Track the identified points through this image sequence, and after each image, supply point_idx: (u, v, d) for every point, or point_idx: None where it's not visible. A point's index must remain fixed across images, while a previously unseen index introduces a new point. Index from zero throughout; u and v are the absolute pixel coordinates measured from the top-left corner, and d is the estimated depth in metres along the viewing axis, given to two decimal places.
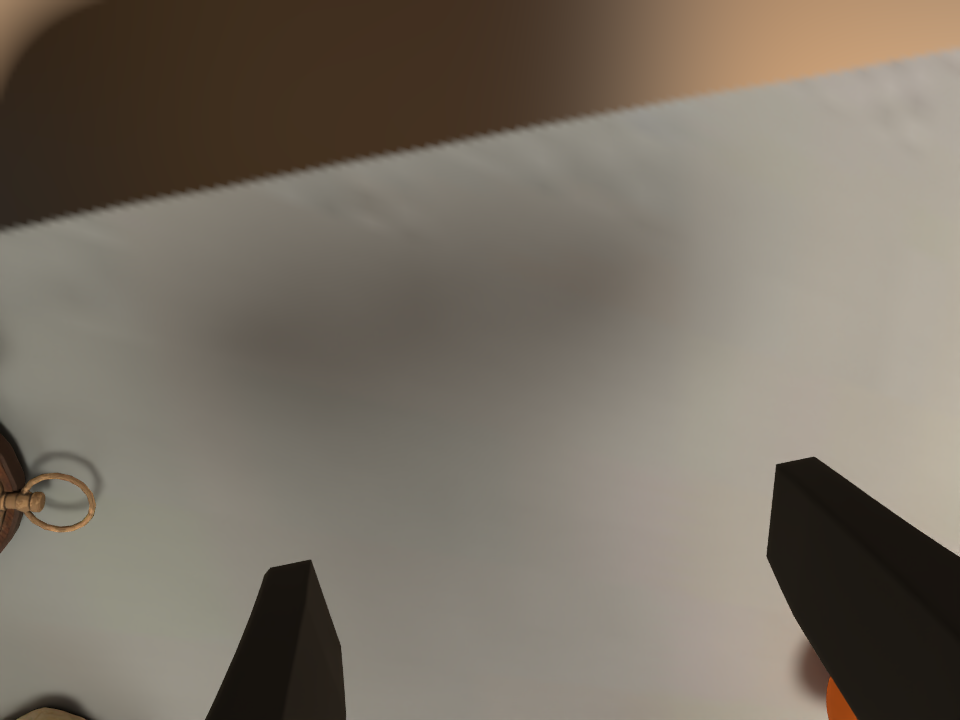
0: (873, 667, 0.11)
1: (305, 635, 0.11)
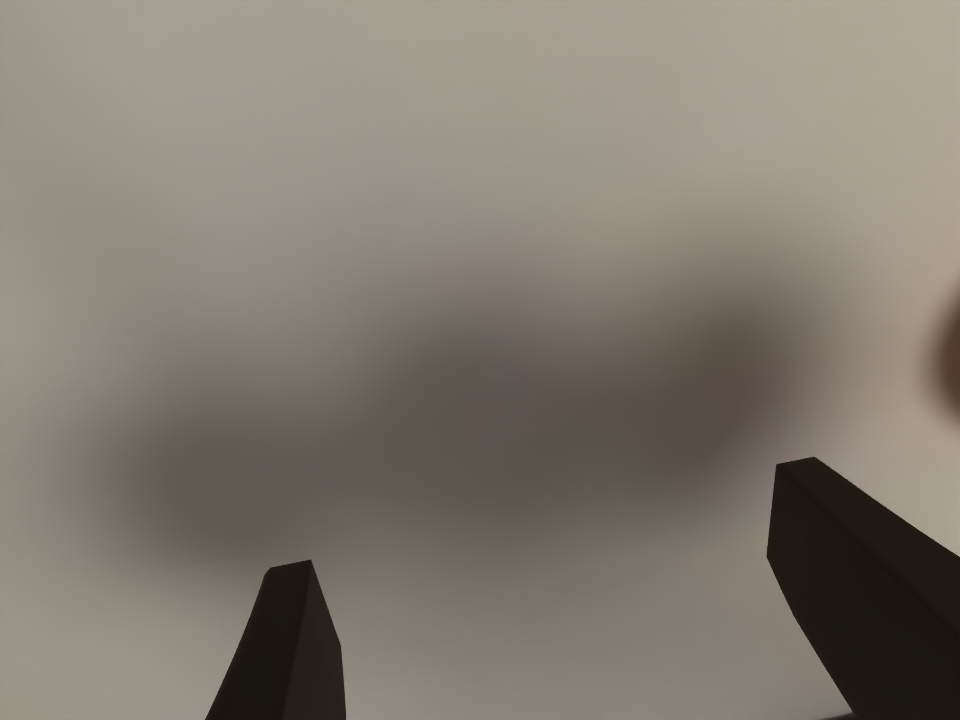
0: (873, 667, 0.11)
1: (305, 635, 0.11)
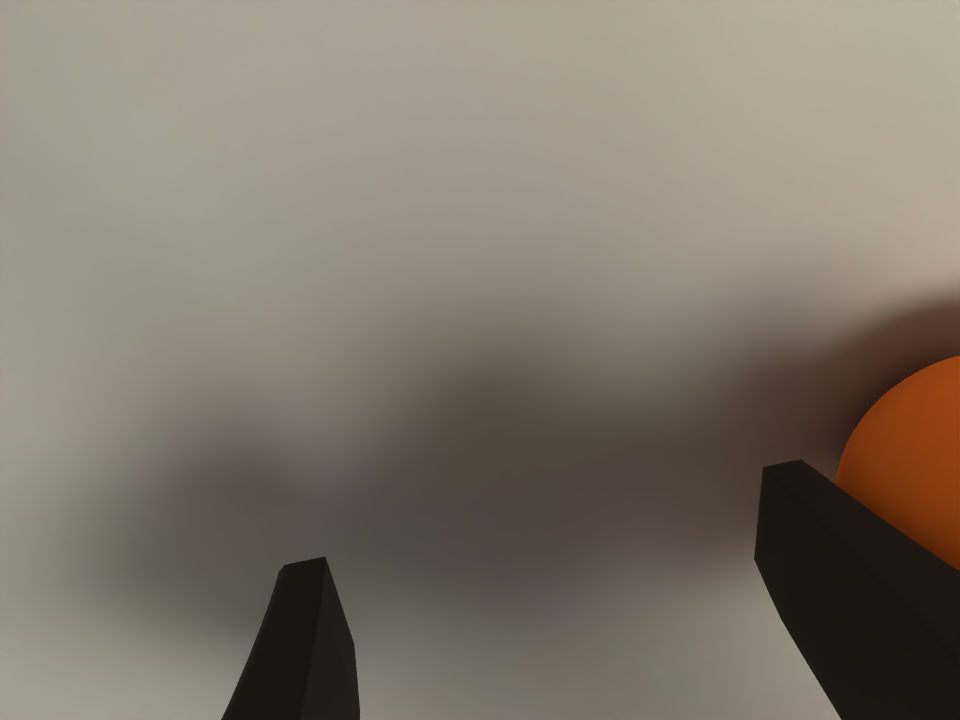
0: (858, 671, 0.11)
1: (321, 632, 0.11)
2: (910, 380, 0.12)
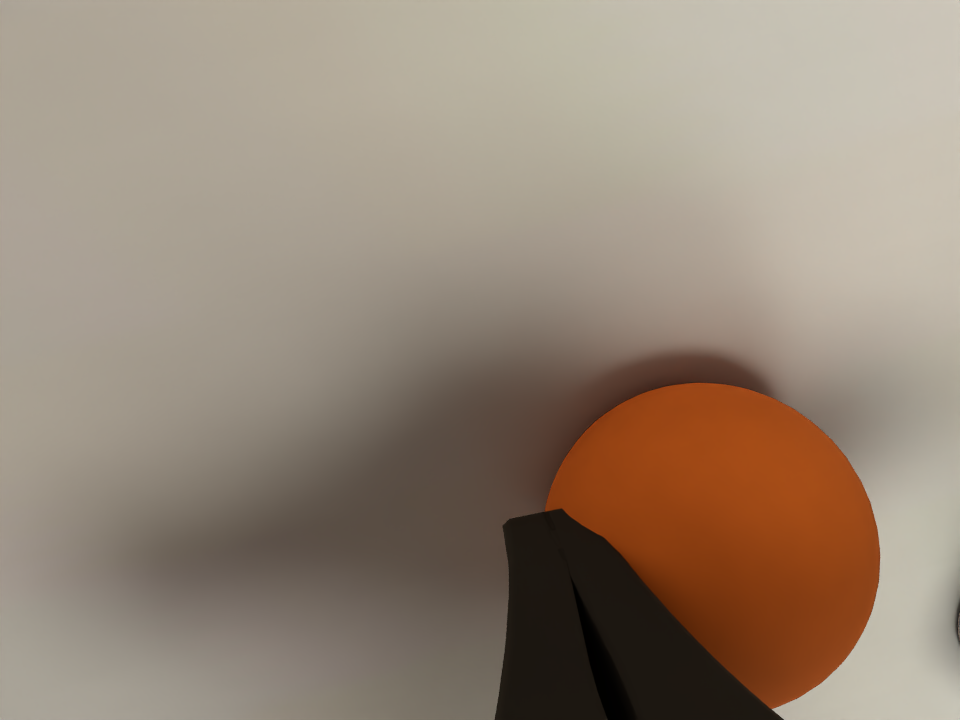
0: None
1: None
2: (589, 439, 0.12)
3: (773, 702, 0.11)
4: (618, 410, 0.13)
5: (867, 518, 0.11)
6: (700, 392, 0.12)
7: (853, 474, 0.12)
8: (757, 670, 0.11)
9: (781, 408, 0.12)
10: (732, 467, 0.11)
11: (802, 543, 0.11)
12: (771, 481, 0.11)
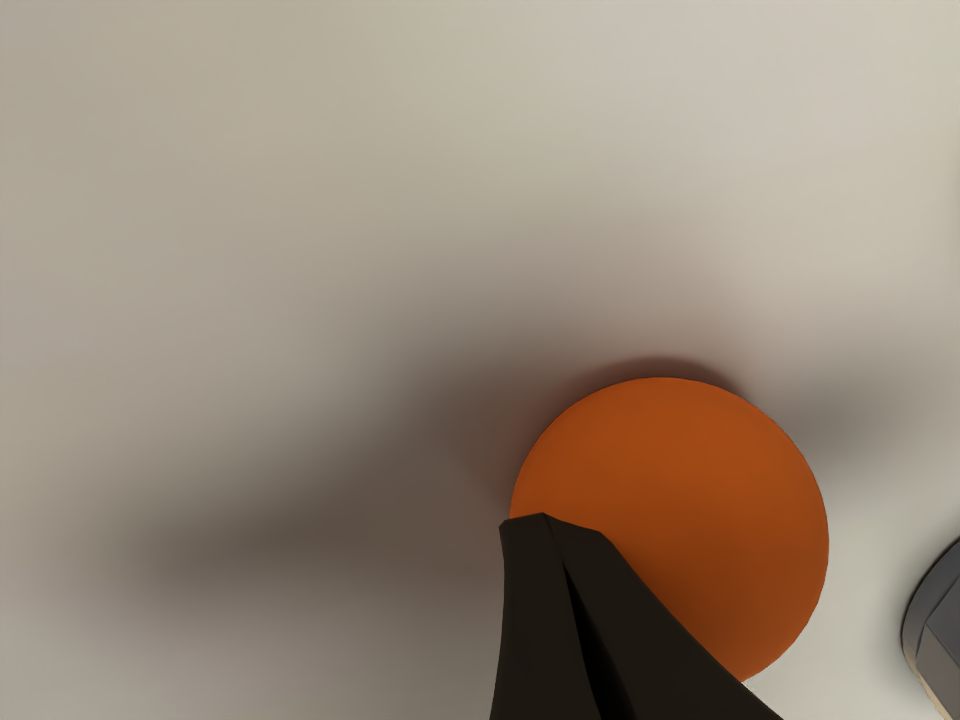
0: None
1: None
2: (556, 446, 0.13)
3: (769, 662, 0.12)
4: (575, 414, 0.13)
5: (813, 476, 0.13)
6: (650, 385, 0.13)
7: None
8: (764, 631, 0.11)
9: (721, 390, 0.13)
10: (711, 445, 0.12)
11: (784, 504, 0.11)
12: (746, 453, 0.12)
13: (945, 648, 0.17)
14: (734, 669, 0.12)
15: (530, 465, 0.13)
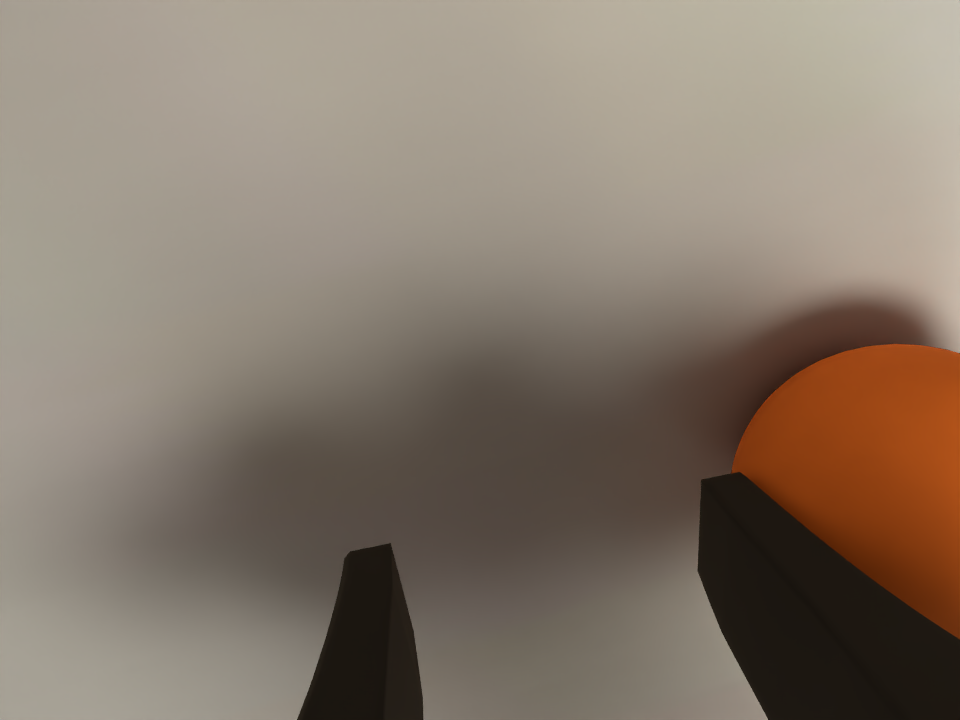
0: (788, 686, 0.11)
1: (394, 617, 0.11)
2: (785, 400, 0.13)
3: None
4: (813, 372, 0.13)
5: None
6: (902, 353, 0.12)
7: None
8: None
9: None
10: (950, 428, 0.11)
11: None
12: None
13: None
14: None
15: (758, 415, 0.13)
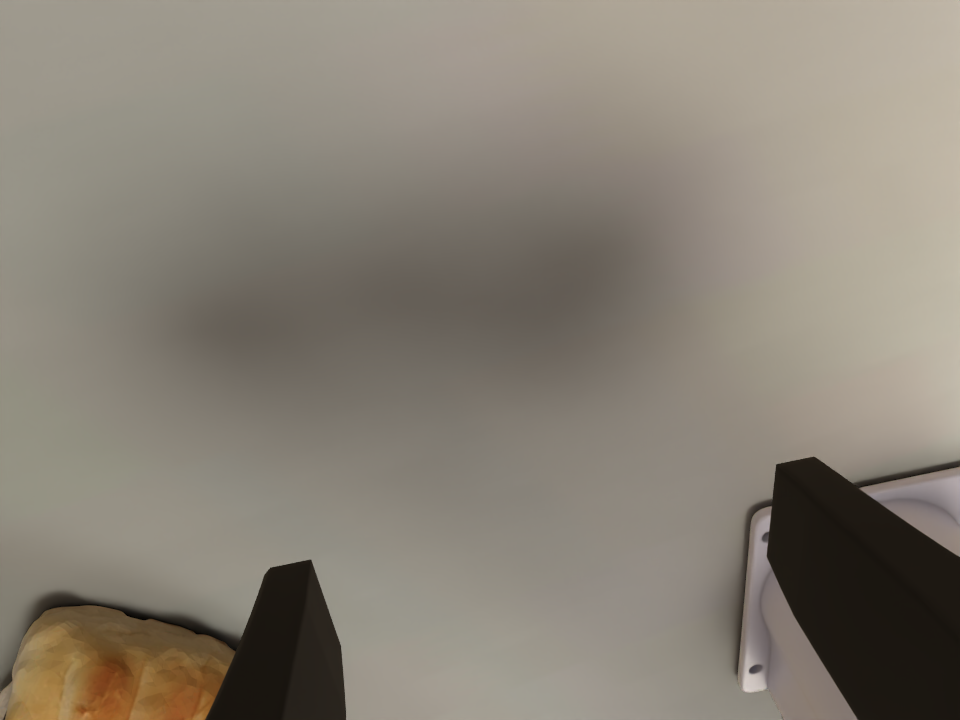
0: (873, 667, 0.11)
1: (305, 635, 0.11)
2: None
3: None
4: None
5: None
6: None
7: None
8: None
9: None
10: None
11: None
12: None
13: None
14: None
15: None
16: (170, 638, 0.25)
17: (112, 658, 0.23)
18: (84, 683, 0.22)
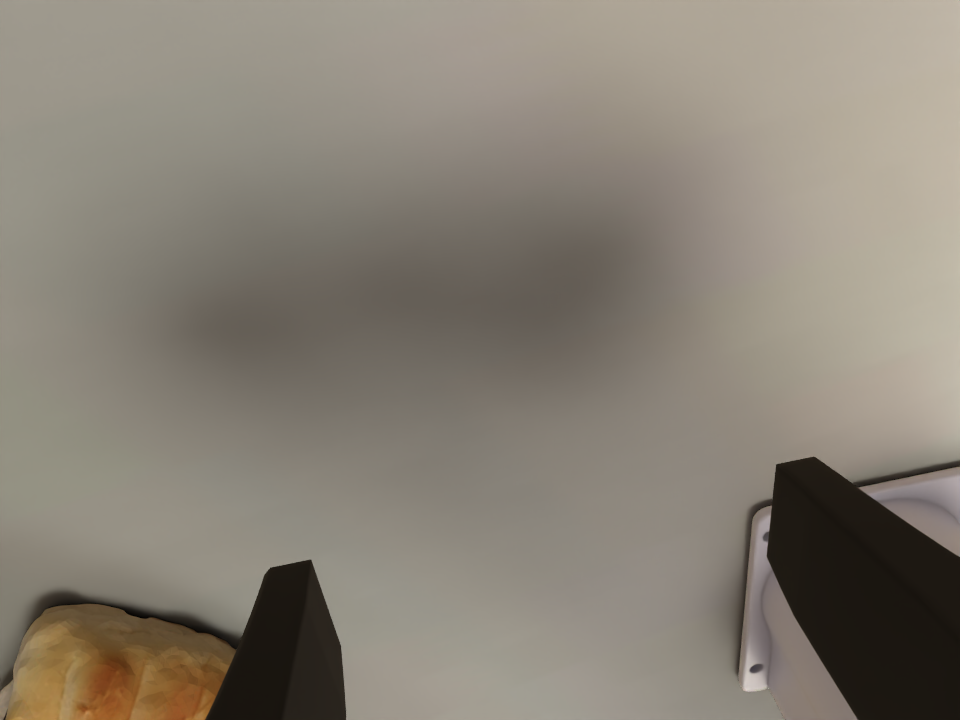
0: (873, 667, 0.11)
1: (305, 635, 0.11)
2: None
3: None
4: None
5: None
6: None
7: None
8: None
9: None
10: None
11: None
12: None
13: None
14: None
15: None
16: (171, 636, 0.25)
17: (113, 656, 0.23)
18: (85, 682, 0.22)
